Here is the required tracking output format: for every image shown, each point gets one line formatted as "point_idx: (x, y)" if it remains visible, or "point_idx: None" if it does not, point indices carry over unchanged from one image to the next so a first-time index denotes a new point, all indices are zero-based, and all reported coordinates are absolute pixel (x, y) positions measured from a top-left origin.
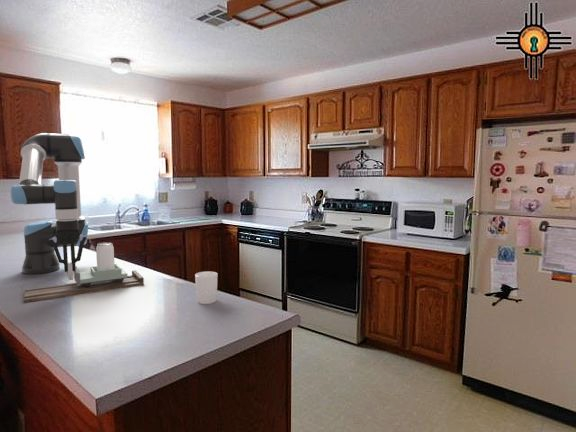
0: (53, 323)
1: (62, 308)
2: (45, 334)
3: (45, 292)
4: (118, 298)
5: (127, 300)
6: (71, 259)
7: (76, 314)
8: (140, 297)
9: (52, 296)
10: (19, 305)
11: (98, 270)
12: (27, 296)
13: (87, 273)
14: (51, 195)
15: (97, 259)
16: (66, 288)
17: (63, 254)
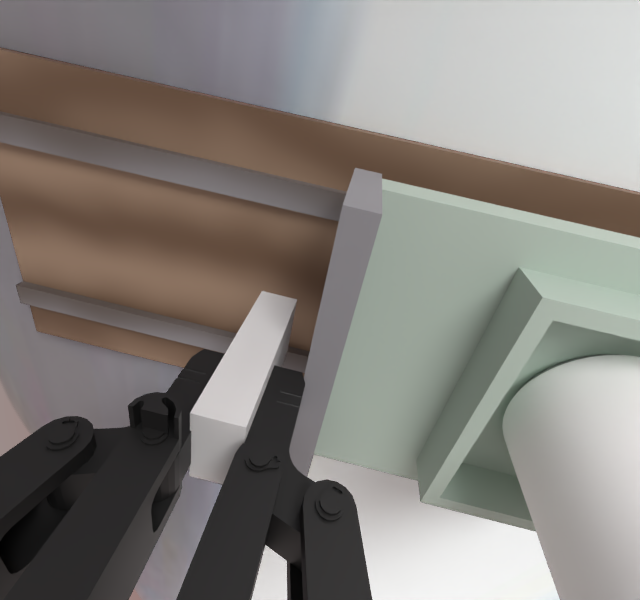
0: (174, 560)
1: (207, 491)
2: (157, 588)
3: (130, 271)
4: (420, 539)
5: (430, 570)
6: (226, 490)
7: None
8: (488, 578)
9: (172, 360)
10: (39, 349)
11: (510, 448)
12: (38, 306)
13: (445, 321)
14: None
15: (562, 583)
16: (261, 275)
17: (36, 577)
